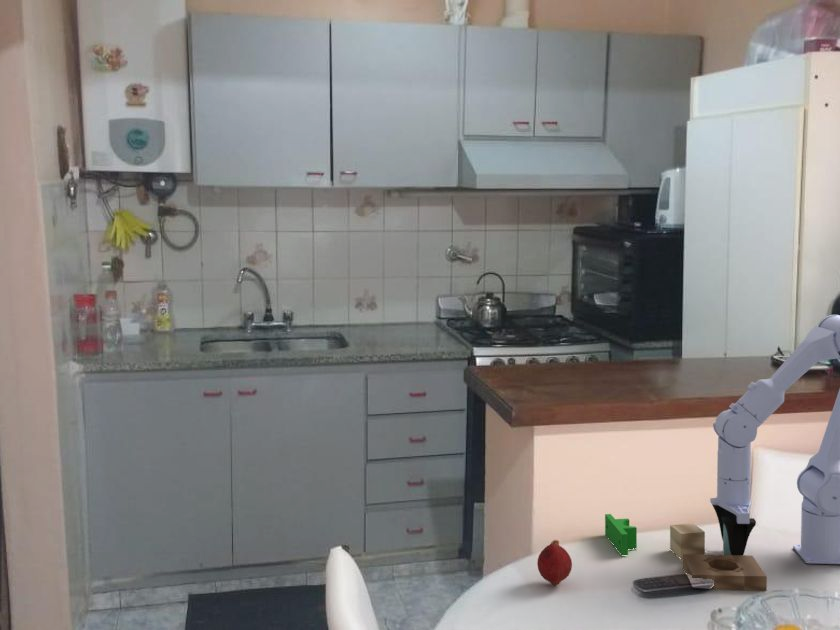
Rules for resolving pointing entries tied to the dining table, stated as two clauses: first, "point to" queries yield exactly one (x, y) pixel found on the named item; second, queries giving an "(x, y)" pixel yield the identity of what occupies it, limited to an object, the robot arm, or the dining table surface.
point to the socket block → (727, 571)
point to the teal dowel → (725, 542)
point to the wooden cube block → (687, 539)
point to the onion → (554, 563)
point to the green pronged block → (620, 533)
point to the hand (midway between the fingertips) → (732, 548)
